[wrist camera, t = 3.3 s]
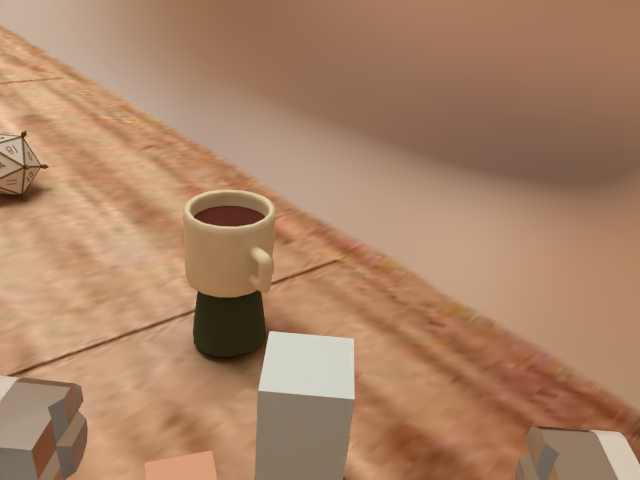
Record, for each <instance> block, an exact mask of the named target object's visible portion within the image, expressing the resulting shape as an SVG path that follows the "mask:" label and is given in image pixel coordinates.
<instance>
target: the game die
mask: <svg viewBox="0 0 640 480" xmlns="http://www.w3.org/2000/svg"><path fill="white" fill-rule="evenodd" d="M26 135H27V134H26V131H24V132H22V133H21V136H13V135H0V194H11V195H21V198H22V200H24V201H26V197H25V195H23V194H24V192H25V191H26V189H27V188H28V186H29V185H30V183H31V182H32V180H33V179H34V177H35V176H36V174H37V173H38V171H39V170H40V168H43V169H44V168H45V169H46V168H48V167H49V166H47V165H46V164H45V165H44V164H43V165H41V164H40V163H39V161H38V160H37V158H36V156H35V155H34V153H33V152H32V150H31V149H30V147H29V145H28V144H27V142H26V141H25V139H24V137H25V136H26Z"/></svg>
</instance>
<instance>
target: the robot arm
mask: <svg viewBox="0 0 640 480" xmlns="http://www.w3.org/2000/svg"><path fill="white" fill-rule="evenodd" d="M82 402H83V395H82V390H81V386H79V385H77V384H74V383H65V382H57V381H48V380H40V379H31V378H17V377H8V376H0V480H65V479H67V478H68V477H70V476H71V475H72V474H74V473H75V472H76V471H77V469H78V467H79V464H80V462H81V460H82V458H83V454H84V451H85V447H86V443H87V430H88V429H87V421H86V418H85V417H84V416H83V415H82V414H81V413H80V412H79V411H78V409H79V408H80V406H81V404H82ZM526 444H527V447H528V450H529V453H527V454H526V455H524V456H523V457H522V458H520V459H519V463H518V466H517V470H516V479H515V480H640V464H639V462H638V461H637V459H636V457H635V455H634V453H633V451H632V450H631V448H630V446H629V444H628V442H627V441H626V439H625V437H624V436H623V435H622V434H620V433H619V432H610V431H598V430H589V431H588V430H582V429H570V428H558V427H546V426H533V427H532V428H531V429H530V430H529V433H528V436H527V438H526Z"/></svg>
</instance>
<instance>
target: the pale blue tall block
mask: <svg viewBox="0 0 640 480" xmlns="http://www.w3.org/2000/svg"><path fill="white" fill-rule="evenodd" d="M353 406H354V339H352V338H341V337H330V336H318V335H307V334H296V333H285V332H273V331H269V336H268V341H267V347H266V352H265V357H264V362H263V368H262V373H261V378H260V383H259V389H258V407H257V435H256V462H255V480H343V476H344V469H345V462H346V455H347V448H348V441H349V434H350V427H351V420H352V413H353Z"/></svg>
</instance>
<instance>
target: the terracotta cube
mask: <svg viewBox="0 0 640 480" xmlns="http://www.w3.org/2000/svg"><path fill="white" fill-rule="evenodd" d="M145 478H146V480H217V476H216V471H215V466H214V460H213V455H212V451H207V452H201V453H196V454H190V455H185V456H180V457H174V458H169V459H163V460H158V461H153V462H147V463H145Z"/></svg>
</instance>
